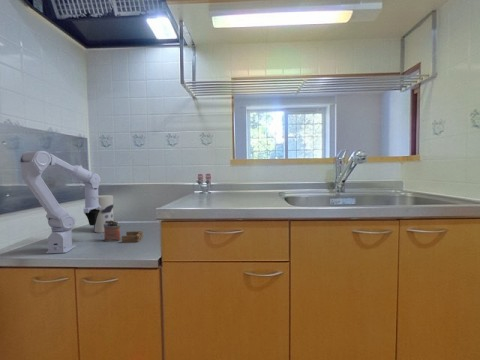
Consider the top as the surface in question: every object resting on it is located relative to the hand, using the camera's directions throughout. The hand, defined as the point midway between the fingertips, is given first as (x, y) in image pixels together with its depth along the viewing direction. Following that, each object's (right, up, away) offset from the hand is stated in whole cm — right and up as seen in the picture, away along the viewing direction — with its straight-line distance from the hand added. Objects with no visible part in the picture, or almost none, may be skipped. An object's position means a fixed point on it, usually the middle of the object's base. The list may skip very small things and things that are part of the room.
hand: (92, 225), depth 128 cm
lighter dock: (+18, -8, +3) cm, 20 cm away
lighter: (+9, -8, +2) cm, 12 cm away
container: (-6, -7, +22) cm, 24 cm away
